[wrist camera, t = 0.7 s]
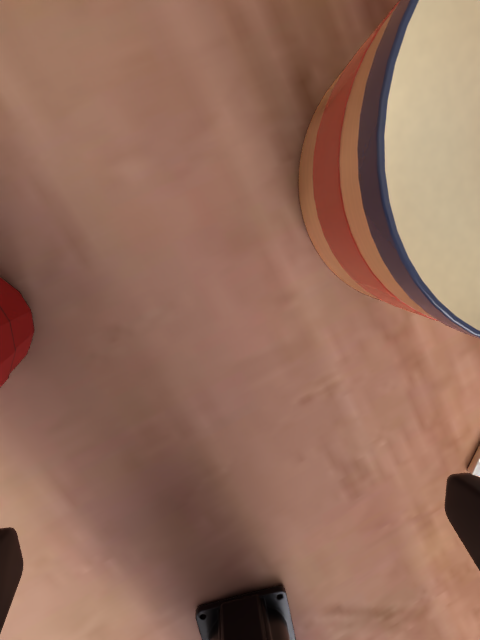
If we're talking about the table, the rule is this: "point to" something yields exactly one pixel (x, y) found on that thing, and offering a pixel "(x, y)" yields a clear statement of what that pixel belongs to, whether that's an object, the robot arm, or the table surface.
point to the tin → (403, 164)
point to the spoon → (475, 464)
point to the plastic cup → (13, 329)
